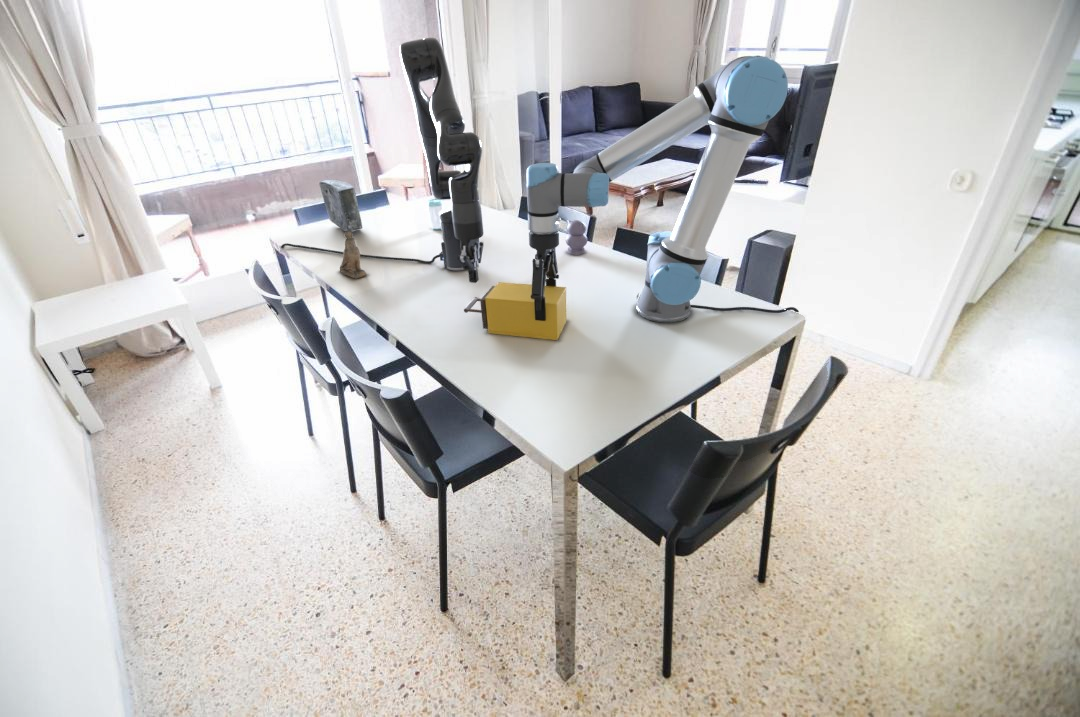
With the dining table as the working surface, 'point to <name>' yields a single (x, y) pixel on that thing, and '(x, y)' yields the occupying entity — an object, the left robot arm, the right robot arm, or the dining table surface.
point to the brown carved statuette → (351, 258)
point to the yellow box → (525, 311)
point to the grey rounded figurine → (576, 237)
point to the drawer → (483, 308)
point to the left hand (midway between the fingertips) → (474, 281)
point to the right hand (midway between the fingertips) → (546, 310)
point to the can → (435, 212)
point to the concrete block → (341, 204)
